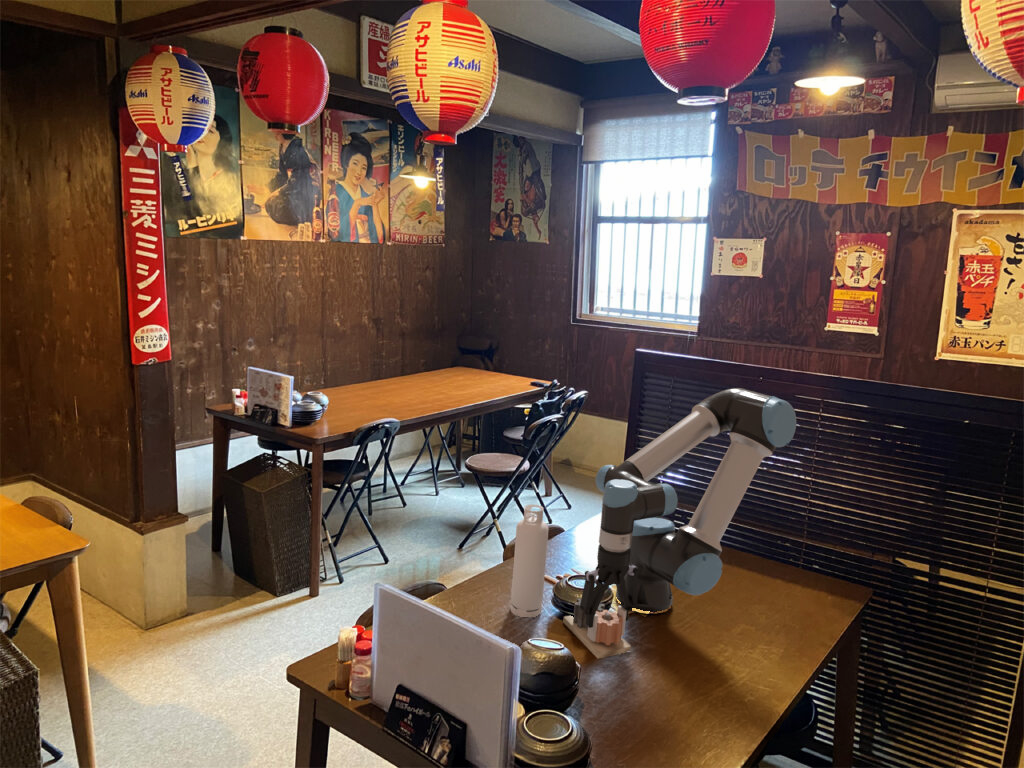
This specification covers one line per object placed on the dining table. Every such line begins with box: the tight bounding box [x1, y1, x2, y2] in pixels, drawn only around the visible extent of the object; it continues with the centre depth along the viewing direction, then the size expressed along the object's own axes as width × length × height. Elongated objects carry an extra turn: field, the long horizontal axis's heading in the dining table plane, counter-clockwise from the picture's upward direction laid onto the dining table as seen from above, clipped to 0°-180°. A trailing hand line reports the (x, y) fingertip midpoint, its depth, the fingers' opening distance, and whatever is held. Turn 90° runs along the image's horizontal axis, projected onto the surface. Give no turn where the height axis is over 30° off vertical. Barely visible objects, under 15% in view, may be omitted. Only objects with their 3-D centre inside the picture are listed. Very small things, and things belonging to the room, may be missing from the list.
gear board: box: [562, 597, 632, 659], centre depth 179 cm, size 9×17×8 cm, turn 24°
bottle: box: [509, 503, 550, 618], centre depth 187 cm, size 8×8×28 cm
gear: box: [595, 609, 623, 645], centre depth 175 cm, size 7×7×5 cm
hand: (605, 635), depth 176 cm, fingers closed on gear, 7 cm apart
